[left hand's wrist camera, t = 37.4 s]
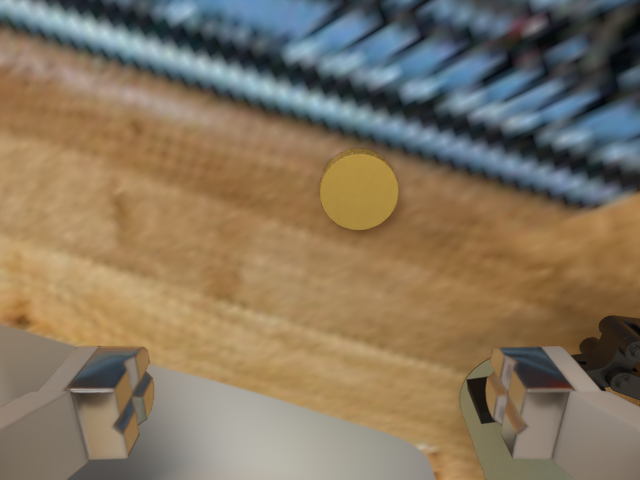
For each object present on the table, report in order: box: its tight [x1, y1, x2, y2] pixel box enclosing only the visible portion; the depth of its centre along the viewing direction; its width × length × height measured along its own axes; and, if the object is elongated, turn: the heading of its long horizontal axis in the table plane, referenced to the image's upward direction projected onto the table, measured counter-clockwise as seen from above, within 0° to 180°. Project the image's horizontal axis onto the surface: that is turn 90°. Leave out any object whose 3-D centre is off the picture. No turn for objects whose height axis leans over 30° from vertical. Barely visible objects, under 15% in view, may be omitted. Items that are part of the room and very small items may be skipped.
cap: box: [319, 148, 399, 230], centre depth 26 cm, size 5×5×2 cm
